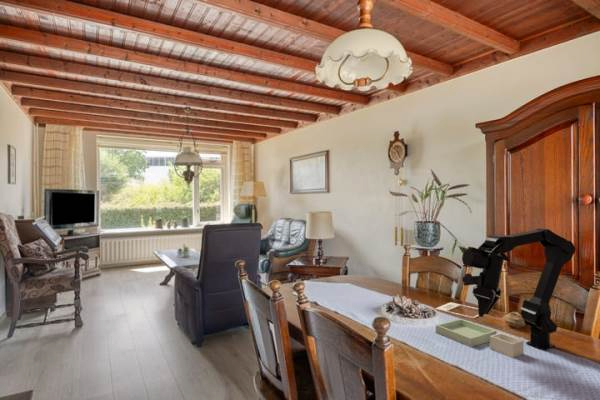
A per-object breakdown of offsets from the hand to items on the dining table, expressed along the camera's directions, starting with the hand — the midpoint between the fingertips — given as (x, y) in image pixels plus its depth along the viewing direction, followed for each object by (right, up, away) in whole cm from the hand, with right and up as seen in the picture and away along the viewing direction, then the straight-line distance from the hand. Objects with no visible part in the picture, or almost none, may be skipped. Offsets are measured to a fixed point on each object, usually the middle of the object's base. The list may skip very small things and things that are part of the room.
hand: (483, 315), depth 120 cm
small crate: (+8, -12, -1) cm, 14 cm away
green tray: (0, -12, +13) cm, 18 cm away
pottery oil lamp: (+26, -12, +23) cm, 37 cm away
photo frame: (+13, -13, +43) cm, 47 cm away
